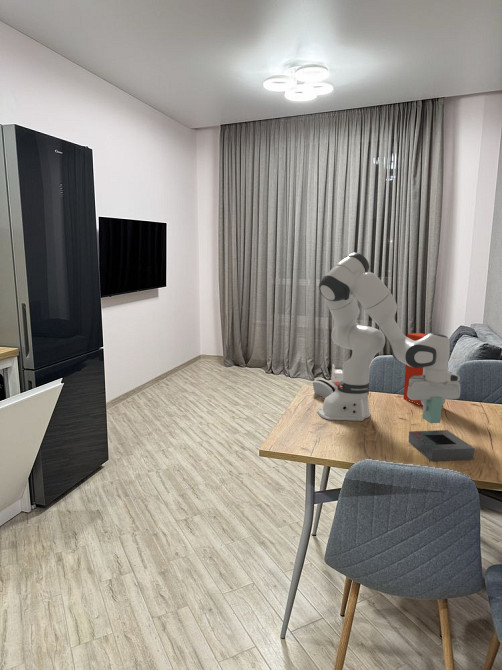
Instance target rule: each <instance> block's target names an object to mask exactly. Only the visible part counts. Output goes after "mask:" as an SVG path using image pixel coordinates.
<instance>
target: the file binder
mask: <svg viewBox="0 0 502 670" xmlns="http://www.w3.org/2000/svg"><path fill="white" fill-rule="evenodd" d="M426 335H428V333H427V334H426V333H422V332H417V333H416V332H415V333H407V334H406V337H408V338H410V339H412V340H414V341H416V340H419V339H421V338H423V337H425V336H426ZM421 375H423V367H422V368H413V367H410V366H408V365H406V364H405V368H404V382H403V383H404V384H403V385H404V386H403V388H404V389H403V399H404V400H405V399H407V400H410V401H413V402H415V403H418V404H420V405H422V403H421V400H411V399H409V398H408V396H407V391H408V386H409V379H410V378H411V377H413V376H421ZM407 400H406V401H407ZM410 401H409V402H410ZM413 402H412V403H413ZM415 403H414V404H415ZM418 404H417V405H418ZM420 405H419V406H420ZM442 408H444V405H443V406H442Z"/></svg>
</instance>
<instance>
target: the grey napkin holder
mask: <svg viewBox="0 0 502 670" xmlns="http://www.w3.org/2000/svg"><path fill="white" fill-rule="evenodd" d="M312 386H313V392H314V394H315V393H316V394H315V395H317V394H318V395H317V396H319V395H320V396H319V397H321V396H322V397H321V398H323V397H324V398H323V399H325V398H326V397H327V396H329V395H330V394H332V393H333V392H335V391H336V390H337V388H336V386H335V385H334V384H332V383H331V381H329V380H327V379H324V378H318V379H316V380H314V381H313V382H312Z"/></svg>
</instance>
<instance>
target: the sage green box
mask: <svg viewBox="0 0 502 670" xmlns="http://www.w3.org/2000/svg"><path fill="white" fill-rule="evenodd" d="M425 403H426V405H427V406H429V408H428V409H429V410H428V411H424V410H423V409H422V419H423V420H425V421H426V422H428V423H429V424H441V418H442V417H441V416H442V410H441V408H442V409H443V407H442V397H431V400H427V402H425Z"/></svg>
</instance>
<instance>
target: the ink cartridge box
mask: <svg viewBox="0 0 502 670" xmlns="http://www.w3.org/2000/svg"><path fill="white" fill-rule="evenodd" d="M342 373H343V369H336V367H335V364H334V363H332V365H331V379H330V382H331V383H332V384H334V382H335V381H338V382H339V383H340V382H341V381H342ZM334 385H335V384H334ZM335 386H336V385H335ZM336 388H337V386H336Z"/></svg>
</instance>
